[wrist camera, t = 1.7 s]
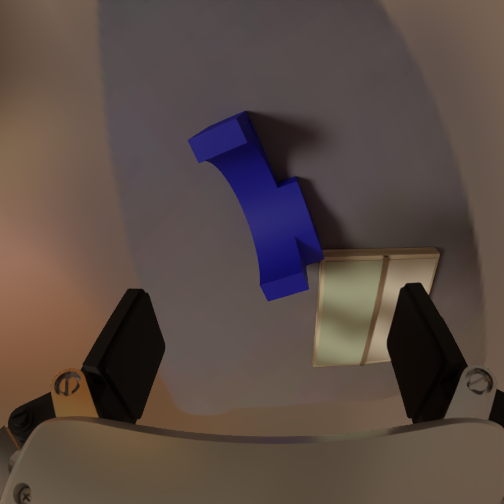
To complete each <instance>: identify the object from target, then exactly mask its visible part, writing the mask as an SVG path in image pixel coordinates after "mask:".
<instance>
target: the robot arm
mask: <svg viewBox="0 0 504 504" xmlns="http://www.w3.org/2000/svg"><path fill="white" fill-rule="evenodd" d="M387 350H388V353H389V356H390V359H391V362H392V366H393V369H394V372H395V375H396V379H397V382H398V385H399V389H400V392H401V396H402V399H403V403H404V406H405V410H406V414H407V417H408V418H412V422H413V424H411V425H405V426H399V427H393V428H385V429H379V430H371V431H363V432H353V433H343V434H331V435H317V436H316V435H315V436H289V437H257V436H232V435H216V434H203V433H194V432H184V431H176V430H168V429H162V428H155V427H149V426H142V425H136V424H135V423H136V421H137V419H140V418H141V416H142V414H143V411H144V408H145V405H146V402H147V399H148V396H149V393H150V390H151V388H152V385H153V382H154V379H155V376H156V374H157V371H158V368H159V365H160V363H161V360H162V357H163V355H164V352H165V342H164V339H163V336H162V333H161V330H160V328H159V325H158V322H157V318H156V315H155V312H154V309H153V306H152V303H151V300H150V296H149V294H148V293H145V291H144V290H143V289H128V290H127V291H126V293H125V294H124V296H123V297H122V299H121V301H120V302H119V304H118V305H117V307H116V309H115V310H114V312H113V313H112V315H111V317H110V318H109V320H108V322H107V324H106V325H105V327H104V328H103V330H102V332H101V333H100V335H99V337H98V338H97V340H96V342H95V344H94V345H93V347H92V349H91V351H90V352H89V354H88V356H87V358H86V359H85V361H84V363H83V367H82V368H81V370H79V369H75V368H69V369H65V370H63V371H61V372H59V373H58V374H57V375H56V376H55V377H54V379H53V380H52V383H51V392H49V393H47V394H45V395H43V396H41V397H39V398H37V399H35V400H32V401H30V402H28V403H26V404H24V405H22V406H20V407H18V408H16V409H15V410H14V411H13V412H12V413H11V415H10V417H9V421H8V427H5V426H3V427H2V428H1V429H0V504H504V392H502V391H500V390H498V389H497V381H496V377H495V376H494V374H493V373H492V372H491V371H490V370H489V369H488V368H486V367H484V366H481V365H471V366H468V365H467V363H466V361H465V359H464V357H463V355H462V353H461V351H460V349H459V347H458V345H457V344H456V342H455V340H454V338H453V336H452V334H451V332H450V330H449V328H448V327H447V325H446V323H445V321H444V319H443V318H442V317H441V316H440V314H439V312H438V310H437V309H436V307H435V305H434V304H433V302H432V300H431V298H430V297H429V295H428V293H427V292H426V290H425V288H424V287H423V285H422V284H421V283H420V282H416V283H406V284H405V285H404V287H402V288H401V289H400V291H399V296H398V300H397V304H396V308H395V312H394V316H393V319H392V323H391V327H390V330H389V334H388V337H387Z"/></svg>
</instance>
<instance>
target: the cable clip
mask: <svg viewBox="0 0 504 504" xmlns="http://www.w3.org/2000/svg"><path fill="white" fill-rule="evenodd" d="M188 142H189V144H190V146H191V148H192V150H193V152H194V154H195V156H196V158H197V160H198V162H199V163H201V162H203V161H208V162H210V163H212V164H213V165H215V166H216V167H217V168H218V169H219V170H220V171H221V173H222V174H223V175H224V176H225V178H226V179H227V181H228V182H229V184H230V185H231V187H232V189H233V191H234V192H235V194H236V196H237V198H238V200H239V202H240V204H241V207H242V209H243V211H244V214H245V216H246V219H247V221H248V224H249V227H250V230H251V233H252V236H253V240H254V243H255V247H256V252H257V256H258V262H259V270H260V287H261V288H262V290H263V292H264V294H265V296H266V298H267V300H268V301H271V300H274V299H278V298H281V297H285V296H288V295H292V294H295V293H298V292H302V291H305V290H308V289H309V286H308V278H307V270H306V265H309V264H312V263H315V262H318V261H321V260H324V255H323V251H322V247H321V243H320V240H319V237H318V234H317V231H316V228H315V226H314V223H313V220H312V217H311V215H310V212H309V209H308V206H307V204H306V201H305V198H304V196H303V193H302V191H301V188H300V185H299V183H298V180H297V178H296V176H295V177H292V178H289V179H286V180H284V181H281V182H278V183H277V180H276V178H275V176H274V173H273V171H272V169H271V166H270V164H269V162H268V159H267V157H266V155H265V152H264V150H263V148H262V145H261V143H260V141H259V138H258V136H257V134H256V132H255V129H254V127H253V125H252V123H251V120H250V118H249V116H248V114H247V112H246V111H244V112H241V113H239V114H237V115H234V116H232V117H230V118H227V119H225V120H223V121H220V122H218V123H216V124H214V125H211V126H209V127H207V128H206V129H204V130H203V131H201V132H200V133H198V134H196V135H195V136H193V137H192V138H190V139H189V140H188Z"/></svg>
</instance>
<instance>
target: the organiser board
mask: <svg viewBox="0 0 504 504" xmlns="http://www.w3.org/2000/svg"><path fill="white" fill-rule="evenodd" d="M322 251H323V255H324V260H321V261H320V270H319V287H318V301H317V314H316V327H315V338H314V348H313V358H312V359H313V367H321V366H339V365H353V364H360V366H364V364H365V363H375V362H385V361H391V359H390V356H389V353H388V350H387V337H388V334H389V330H390V327H391V323H392V319H393V316H394V312H395V308H396V304H397V300H398V296H399V291H400V289H401V288H402V287H404V285H405V284H406V283H416V282H420V283H421V284H422V285H423V287H424V288H425V290H426V292H427V293H428V295H429V292H430V289H431V286H432V282H433V279H434V275H435V271H436V268H437V264H438V260H439V256H440V253H439V252H438V250H437V249H436V248H435V247H416V248H376V249H335V250H322Z"/></svg>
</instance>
